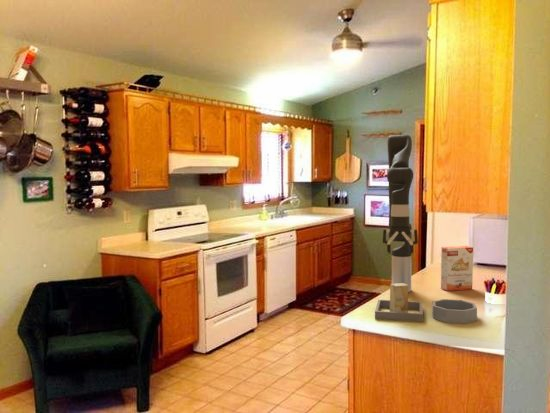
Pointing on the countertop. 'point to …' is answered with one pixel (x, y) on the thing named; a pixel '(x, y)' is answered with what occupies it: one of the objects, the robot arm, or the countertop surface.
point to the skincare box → (399, 297)
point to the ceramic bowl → (454, 311)
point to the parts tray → (399, 315)
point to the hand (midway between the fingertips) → (400, 253)
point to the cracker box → (456, 268)
